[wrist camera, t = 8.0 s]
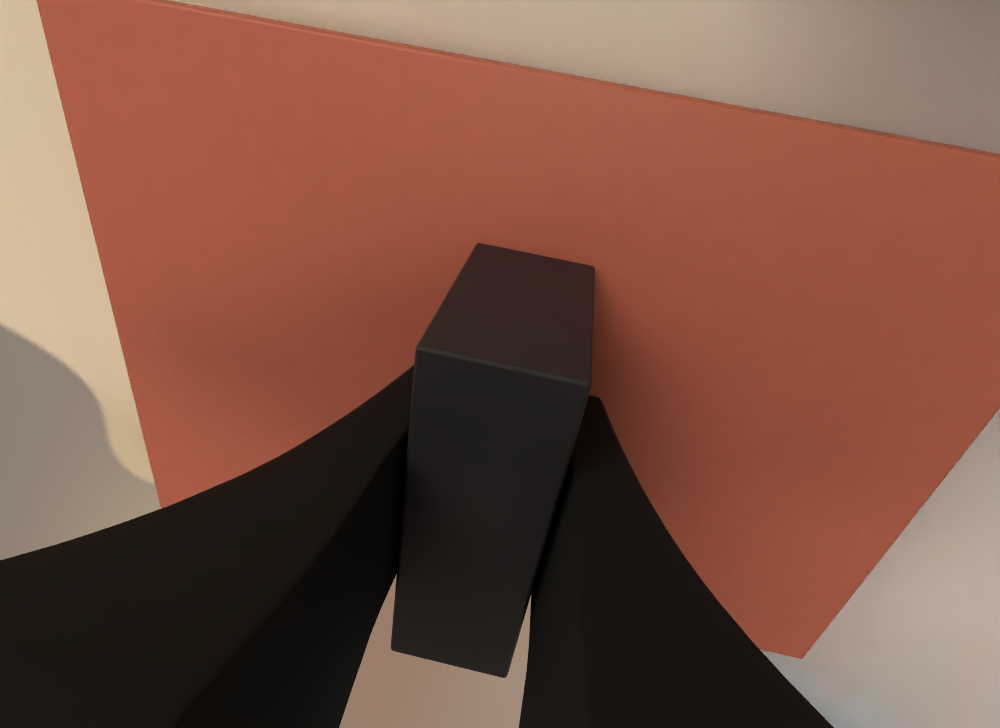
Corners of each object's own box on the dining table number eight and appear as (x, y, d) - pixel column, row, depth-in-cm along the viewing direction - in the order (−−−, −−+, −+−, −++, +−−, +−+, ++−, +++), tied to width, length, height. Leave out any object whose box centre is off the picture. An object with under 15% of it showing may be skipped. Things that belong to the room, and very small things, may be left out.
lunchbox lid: (1137, 179, 8) (1581, 302, 4) (795, 637, 14) (862, 848, 10) (62, -20, 9) (-311, -54, 5) (175, 491, 15) (38, 640, 11)
